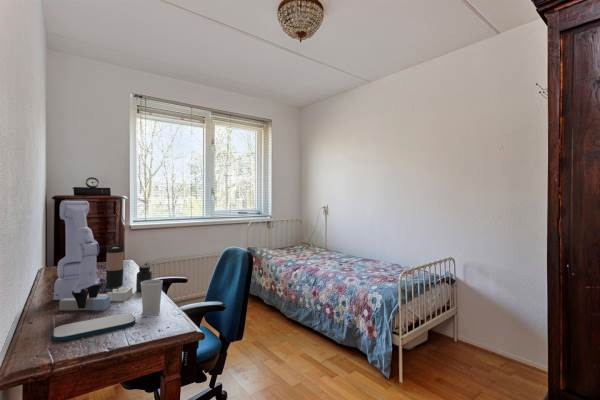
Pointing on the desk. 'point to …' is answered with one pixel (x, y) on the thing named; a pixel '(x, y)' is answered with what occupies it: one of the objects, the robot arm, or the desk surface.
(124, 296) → the slider rail
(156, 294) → the cup
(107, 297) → the blue-capped grey bar
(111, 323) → the white teal rounded slab
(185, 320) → the desk surface
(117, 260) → the travel mug
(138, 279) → the supplement bottle
